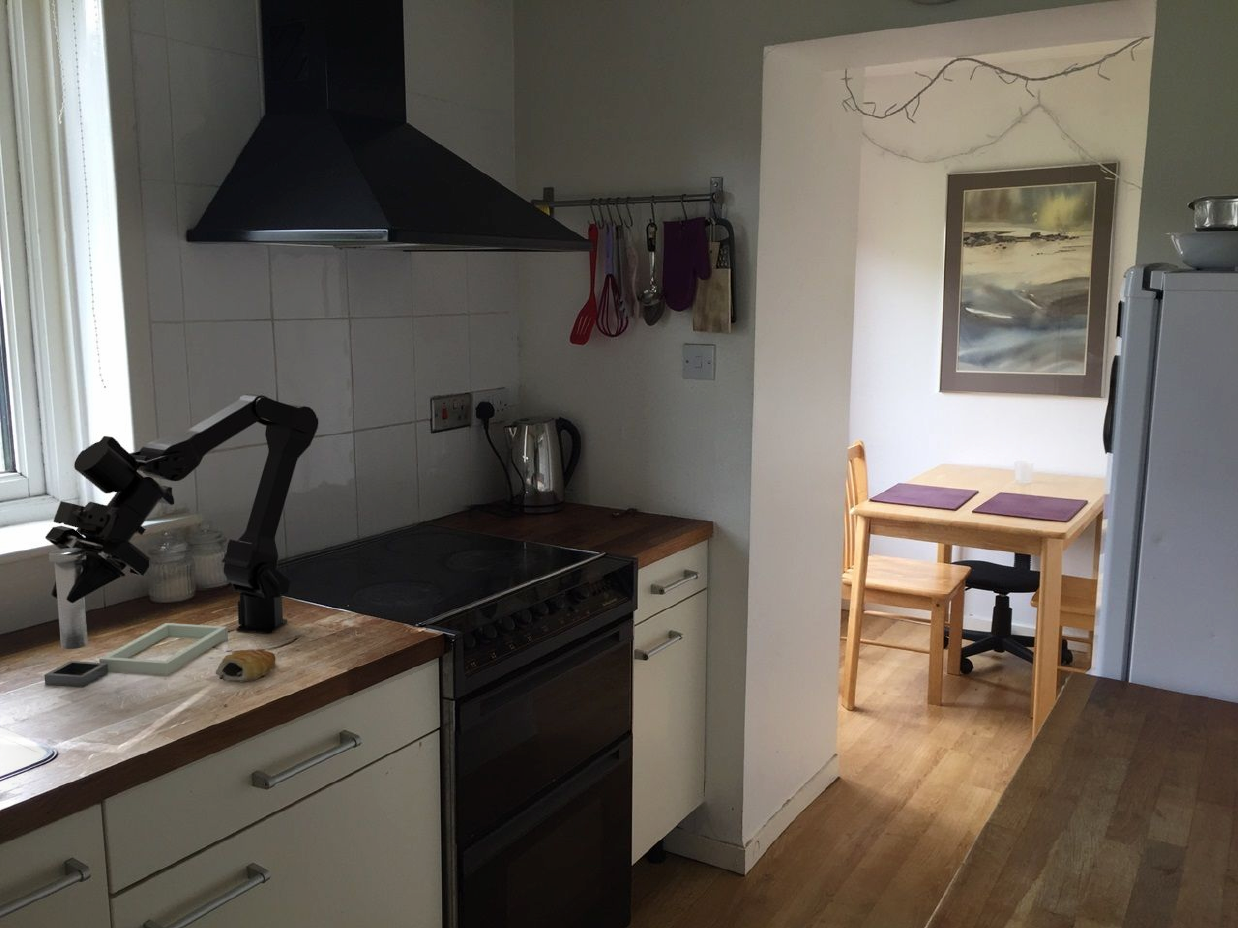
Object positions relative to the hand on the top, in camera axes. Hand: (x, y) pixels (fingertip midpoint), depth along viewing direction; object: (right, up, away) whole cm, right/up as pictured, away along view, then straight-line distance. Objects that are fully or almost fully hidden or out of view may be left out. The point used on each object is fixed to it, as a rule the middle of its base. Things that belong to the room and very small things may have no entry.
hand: (61, 599), depth 158 cm
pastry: (+24, -13, +9) cm, 28 cm away
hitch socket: (+1, -13, +3) cm, 13 cm away
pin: (+1, -7, +2) cm, 7 cm away
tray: (+9, -11, +15) cm, 21 cm away
